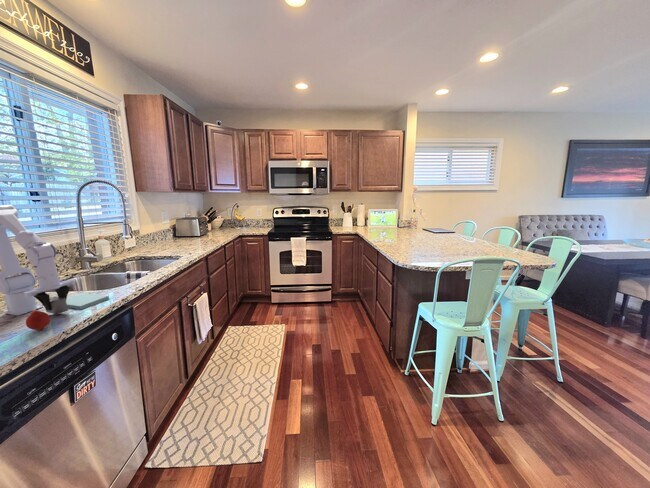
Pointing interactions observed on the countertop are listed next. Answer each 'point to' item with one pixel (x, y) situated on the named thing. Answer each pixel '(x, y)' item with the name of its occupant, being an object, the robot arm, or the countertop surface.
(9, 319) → the countertop surface
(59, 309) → the connector
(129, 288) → the countertop surface
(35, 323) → the onion
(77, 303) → the board
